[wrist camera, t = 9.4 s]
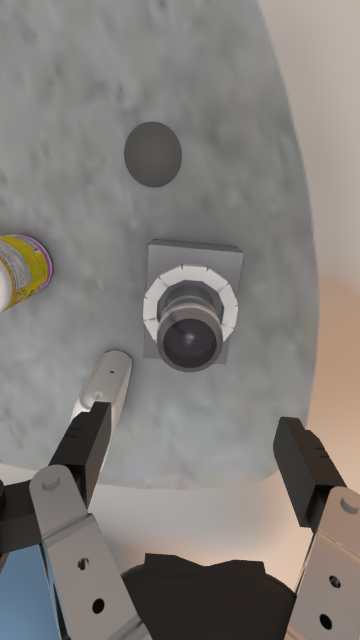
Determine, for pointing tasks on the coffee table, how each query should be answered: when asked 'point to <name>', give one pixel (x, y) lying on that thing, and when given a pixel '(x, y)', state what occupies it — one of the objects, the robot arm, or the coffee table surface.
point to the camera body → (191, 269)
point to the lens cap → (152, 154)
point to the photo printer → (106, 387)
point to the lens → (189, 330)
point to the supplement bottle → (21, 269)
